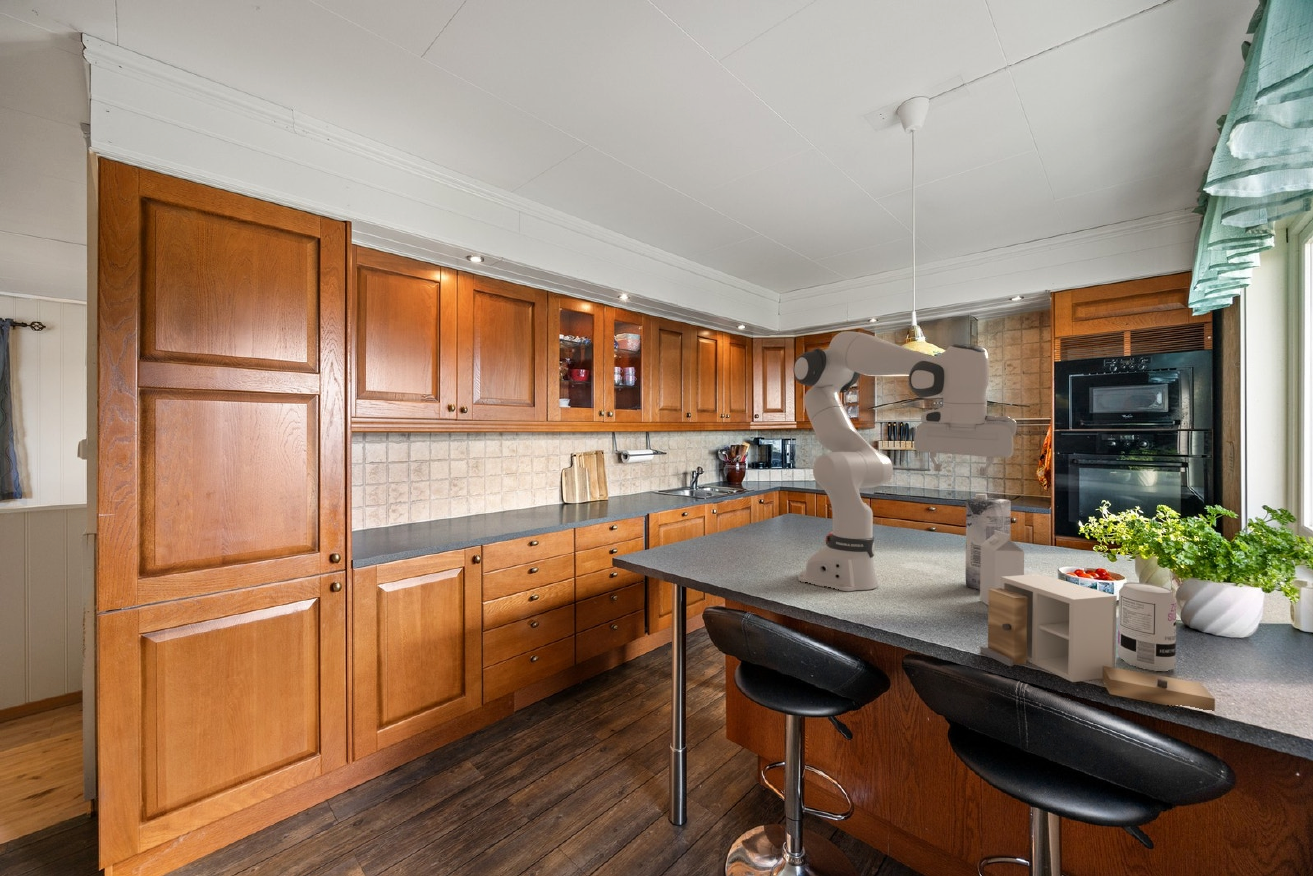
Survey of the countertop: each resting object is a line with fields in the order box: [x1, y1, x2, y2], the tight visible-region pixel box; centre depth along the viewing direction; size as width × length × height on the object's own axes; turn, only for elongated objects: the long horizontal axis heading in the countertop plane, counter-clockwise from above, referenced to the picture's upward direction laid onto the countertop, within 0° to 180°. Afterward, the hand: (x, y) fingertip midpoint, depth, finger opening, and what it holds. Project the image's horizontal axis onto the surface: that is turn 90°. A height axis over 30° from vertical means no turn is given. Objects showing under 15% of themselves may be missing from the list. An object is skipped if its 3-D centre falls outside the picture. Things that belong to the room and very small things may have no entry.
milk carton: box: [979, 530, 1025, 606], centre depth 138 cm, size 7×7×19 cm
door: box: [1101, 666, 1216, 711], centre depth 91 cm, size 13×6×4 cm, turn 59°
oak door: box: [987, 588, 1027, 666], centre depth 106 cm, size 4×6×13 cm, turn 14°
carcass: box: [979, 573, 1118, 683], centre depth 104 cm, size 16×15×15 cm
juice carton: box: [964, 493, 1012, 591], centre depth 153 cm, size 9×10×27 cm
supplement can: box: [1117, 581, 1178, 671], centre depth 104 cm, size 8×8×15 cm
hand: (960, 473), depth 126 cm, fingers open, 8 cm apart
